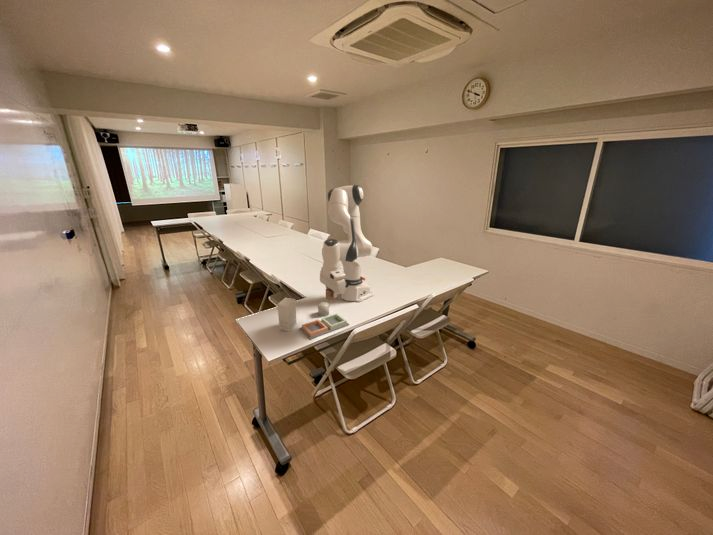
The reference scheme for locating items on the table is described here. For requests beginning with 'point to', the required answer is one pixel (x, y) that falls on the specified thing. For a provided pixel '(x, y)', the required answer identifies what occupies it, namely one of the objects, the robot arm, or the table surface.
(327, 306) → the grey rounded cylinder
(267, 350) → the table surface
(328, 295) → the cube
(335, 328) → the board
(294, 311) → the skincare box
